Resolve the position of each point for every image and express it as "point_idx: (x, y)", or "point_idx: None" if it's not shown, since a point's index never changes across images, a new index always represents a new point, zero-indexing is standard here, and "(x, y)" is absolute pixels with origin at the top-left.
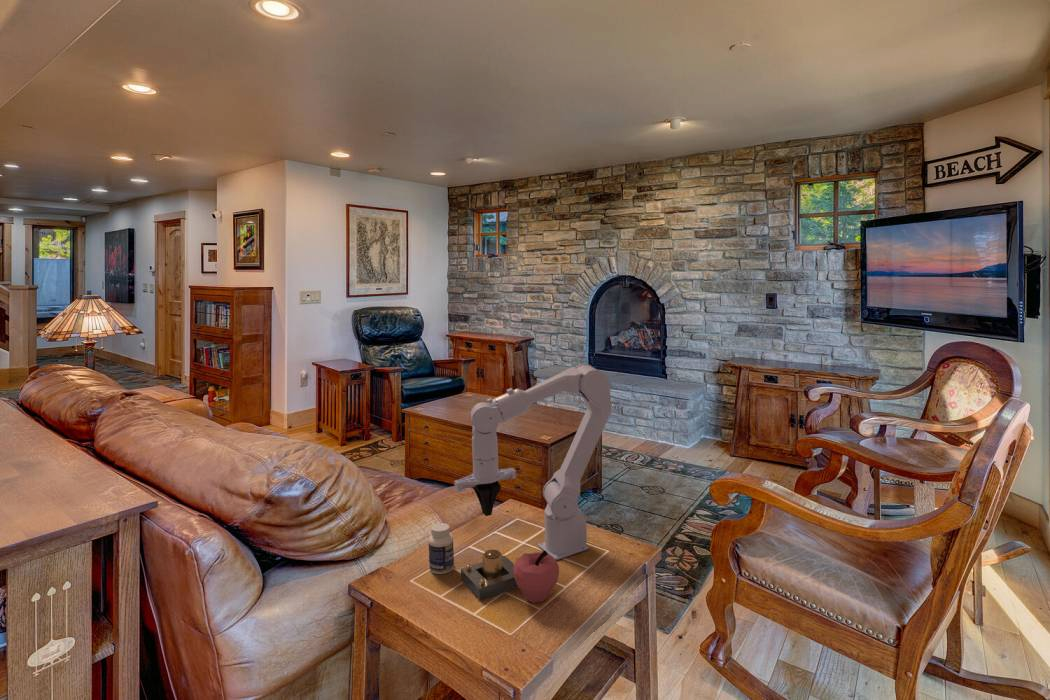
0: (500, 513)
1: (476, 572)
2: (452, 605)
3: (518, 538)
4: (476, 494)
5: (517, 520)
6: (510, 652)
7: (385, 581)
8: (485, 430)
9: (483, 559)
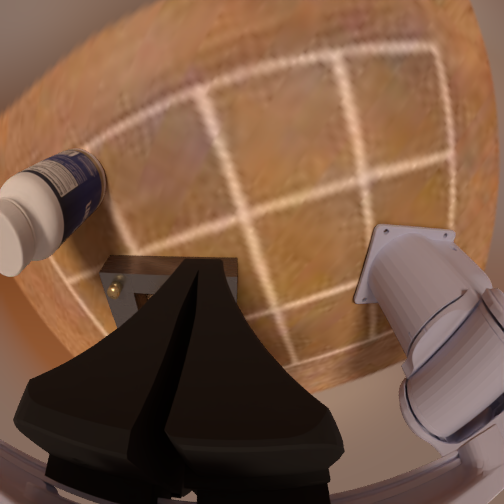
0: None
1: (132, 305)
2: (85, 315)
3: (369, 146)
4: (104, 340)
5: (430, 54)
6: None
7: None
8: None
9: None
